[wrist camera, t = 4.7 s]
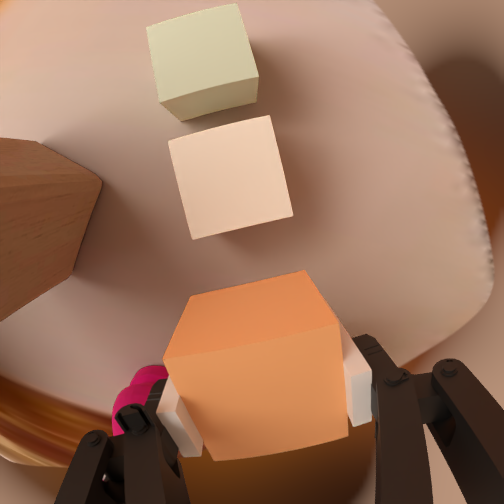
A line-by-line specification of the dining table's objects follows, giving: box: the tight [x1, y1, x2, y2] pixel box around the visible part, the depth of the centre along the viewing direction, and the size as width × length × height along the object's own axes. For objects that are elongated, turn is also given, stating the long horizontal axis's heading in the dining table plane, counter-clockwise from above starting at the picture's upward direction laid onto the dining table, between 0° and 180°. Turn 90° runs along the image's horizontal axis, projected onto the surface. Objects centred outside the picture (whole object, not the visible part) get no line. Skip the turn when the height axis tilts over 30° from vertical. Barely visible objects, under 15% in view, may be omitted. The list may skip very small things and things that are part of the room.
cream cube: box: [168, 115, 293, 240], centre depth 19 cm, size 6×6×6 cm
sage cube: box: [146, 3, 259, 121], centre depth 17 cm, size 6×6×6 cm
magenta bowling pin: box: [103, 365, 179, 481], centre depth 17 cm, size 7×7×20 cm
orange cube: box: [162, 270, 348, 461], centre depth 13 cm, size 6×6×6 cm
